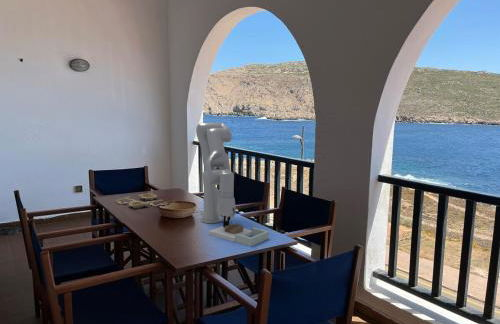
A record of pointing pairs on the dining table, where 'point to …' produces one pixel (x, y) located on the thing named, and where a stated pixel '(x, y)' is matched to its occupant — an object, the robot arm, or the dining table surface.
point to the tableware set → (140, 204)
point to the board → (228, 236)
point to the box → (258, 237)
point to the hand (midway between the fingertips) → (226, 227)
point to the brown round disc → (233, 228)
